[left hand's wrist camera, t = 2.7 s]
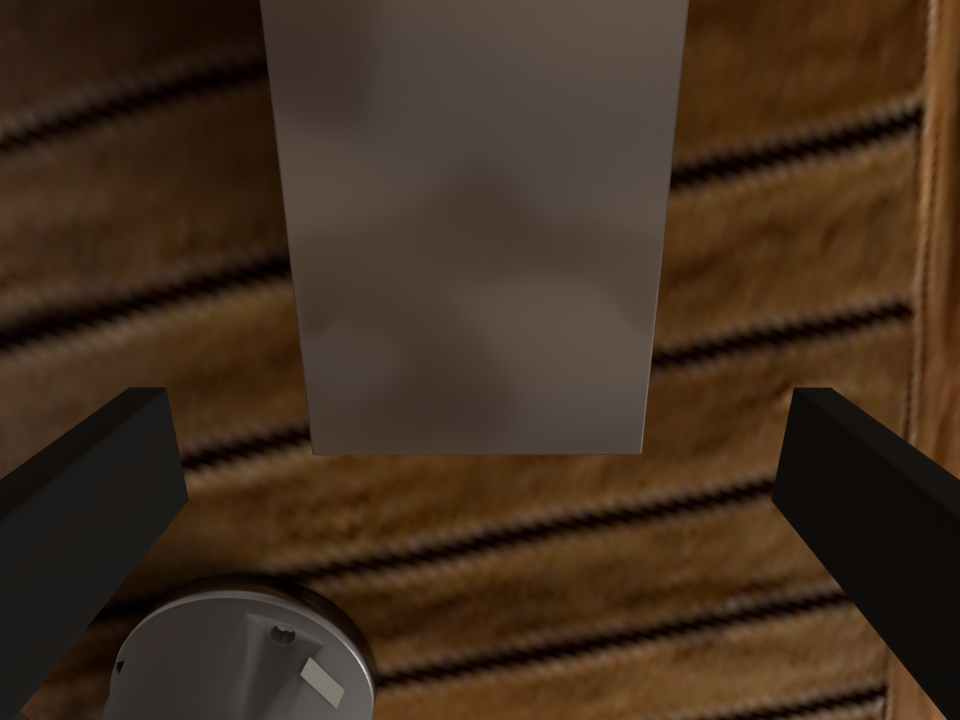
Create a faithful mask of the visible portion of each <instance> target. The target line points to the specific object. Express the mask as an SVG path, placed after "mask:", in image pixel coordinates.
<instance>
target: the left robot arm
mask: <svg viewBox="0 0 960 720" xmlns="http://www.w3.org/2000/svg"><path fill="white" fill-rule="evenodd" d="M188 500H189V499H188V494H187V489H186V484H185V479H184V475H183V470H182V465H181V460H180V455H179V450H178V445H177V440H176V435H175V430H174V425H173V420H172V415H171V410H170V405H169V400H168V395H167V390H166V388H128V389H127V390H125V391H124V392H122V393H121V394H120V395H118V396H117V397H115V398H114V399H113V400H111V401H110V402H108V403H107V404H106V405H104V406H103V407H101V408H100V409H99V410H97V411H96V412H94V413H93V414H92V415H90V416H89V417H87V418H86V419H85V420H83V421H82V422H81V423H79V424H78V425H76V426H75V427H74V428H72V429H71V430H69V431H68V432H67V433H65V434H64V435H62V436H61V437H60V438H58V439H57V440H55V441H54V442H53V443H51V444H50V445H48V446H47V447H46V448H44V449H43V450H41V451H40V452H39V453H37V454H36V455H34V456H33V457H32V458H30V459H29V460H27V461H26V462H25V463H23V464H22V465H20V466H19V467H18V468H16V469H15V470H13V471H12V472H11V473H9V474H8V475H7V476H5V477H4V478H2V479H1V480H0V720H30V719H29V718H27V717H26V716H25V715H24V714H22V713H21V712H20V710H21V709H22V708H23V706H24V705H25V704H26V703H27V701H28V700H29V699H30V698H31V696H32V695H33V694H34V693H35V691H36V690H37V689H38V688H39V686H40V685H41V684H42V683H43V681H44V680H45V679H46V678H47V676H48V675H49V674H50V673H51V671H52V670H53V669H54V668H55V666H56V665H57V664H58V663H59V661H60V660H61V659H62V658H63V656H64V655H65V654H66V653H67V651H68V650H69V649H70V648H71V646H72V645H73V644H74V643H75V641H76V640H77V639H78V638H79V636H80V635H81V634H82V633H83V631H84V630H85V629H86V628H87V626H88V625H89V624H90V623H91V621H92V620H93V619H94V618H95V616H96V615H97V614H98V613H99V611H100V610H101V609H102V608H103V606H104V605H105V604H106V603H107V602H108V600H109V599H110V598H111V597H112V595H113V594H114V593H115V592H116V590H117V589H118V588H119V587H120V585H121V584H122V583H123V582H124V580H125V579H126V578H127V577H128V575H129V574H130V573H131V572H132V570H133V569H134V568H135V567H136V565H137V564H138V563H139V562H140V560H141V559H142V558H143V557H144V555H145V554H146V553H147V552H148V550H149V549H150V548H151V547H152V545H153V544H154V543H155V542H156V540H157V539H158V538H159V537H160V535H161V534H162V533H163V532H164V530H165V529H166V528H167V527H168V525H169V524H170V523H171V522H172V520H173V519H174V518H175V517H176V515H177V514H178V513H179V512H180V510H181V509H182V508H183V507H184V505H185V504H186V503H187V502H188ZM771 500H772V502H773V503H774V504H775V505H776V507H777V508H778V509H779V510H780V512H781V513H782V514H783V515H784V517H785V518H786V519H787V520H788V522H789V523H790V524H791V525H792V527H793V528H794V529H795V530H796V532H797V533H798V534H799V535H800V537H801V538H802V539H803V540H804V542H805V543H806V544H807V545H808V547H809V548H810V549H811V550H812V552H813V553H814V554H815V555H816V557H817V558H818V559H819V560H820V562H821V563H822V564H823V565H824V567H825V568H826V569H827V570H828V572H829V573H830V574H831V575H832V577H833V578H834V579H835V580H836V582H837V583H838V584H839V585H840V587H841V588H842V589H843V590H844V592H845V593H846V594H847V595H848V597H849V598H850V599H851V600H852V602H853V603H854V604H855V605H856V606H857V608H858V609H859V610H860V611H861V613H862V614H863V615H864V616H865V618H866V619H867V620H868V621H869V623H870V624H871V625H872V626H873V628H874V629H875V630H876V631H877V633H878V634H879V635H880V636H881V638H882V639H883V640H884V641H885V643H886V644H887V645H888V646H889V648H890V649H891V650H892V651H893V653H894V654H895V655H896V656H897V658H898V659H899V660H900V661H901V663H902V664H903V665H904V666H905V668H906V669H907V670H908V671H909V673H910V674H911V675H912V676H913V678H914V679H915V680H916V681H917V683H918V684H919V685H920V686H921V688H922V689H923V690H924V691H925V693H926V694H927V695H928V696H929V698H930V699H931V700H932V701H933V703H934V704H935V705H936V706H937V708H938V709H939V710H940V711H941V713H942V714H943V715H944V716H945V718H946V719H947V720H960V480H959V479H958V478H956V477H955V476H953V475H952V474H951V473H949V472H948V471H947V470H945V469H944V468H942V467H941V466H940V465H938V464H937V463H935V462H934V461H933V460H931V459H930V458H928V457H927V456H926V455H924V454H923V453H921V452H920V451H919V450H917V449H916V448H914V447H913V446H912V445H910V444H909V443H907V442H906V441H905V440H903V439H902V438H900V437H899V436H898V435H896V434H895V433H893V432H892V431H891V430H889V429H888V428H886V427H885V426H884V425H882V424H881V423H879V422H878V421H877V420H875V419H874V418H872V417H871V416H870V415H868V414H867V413H866V412H864V411H863V410H861V409H860V408H859V407H857V406H856V405H854V404H853V403H852V402H850V401H849V400H847V399H846V398H845V397H843V396H842V395H840V394H839V393H838V392H836V391H835V390H833V389H832V388H794V390H793V395H792V400H791V405H790V410H789V415H788V420H787V425H786V430H785V435H784V440H783V445H782V450H781V455H780V460H779V465H778V470H777V475H776V479H775V484H774V489H773V494H772V499H771ZM377 688H378V674H377V667H376V663H375V659H374V656H373V654H372V651H371V649H370V647H369V645H368V643H367V641H366V640H365V638H364V637H363V635H362V634H361V632H360V631H359V630H358V629H357V627H356V626H355V625H354V624H353V623H352V622H351V621H350V620H349V619H348V618H347V617H346V616H345V615H344V614H343V613H341V612H340V611H339V610H338V609H337V608H335V607H334V606H332V605H331V604H329V603H328V602H326V601H325V600H323V599H321V598H320V597H318V596H316V595H314V594H312V593H310V592H308V591H306V590H304V589H301V588H298V587H296V586H293V585H290V584H287V583H283V582H280V581H276V580H271V579H266V578H259V577H250V576H224V577H215V578H209V579H204V580H200V581H196V582H193V583H189V584H187V585H184V586H182V587H179V588H177V589H175V590H173V591H171V592H170V593H168V594H166V595H165V596H163V597H162V598H160V599H159V600H158V601H157V602H155V603H154V604H153V605H152V606H151V607H150V608H149V609H148V610H147V611H146V612H145V614H144V615H143V616H142V618H141V619H140V621H139V622H138V623H137V625H136V626H135V628H134V629H133V630H132V632H131V633H130V635H129V636H128V638H127V639H126V640H125V642H124V643H123V645H122V647H121V649H120V651H119V654H118V656H117V659H116V662H115V666H114V669H113V672H112V676H111V681H110V695H109V697H108V699H107V701H106V704H105V706H104V709H103V711H102V714H101V717H100V720H372V716H373V711H374V706H375V700H376V695H377Z"/></svg>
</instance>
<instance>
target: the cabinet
mask: <svg viewBox="0 0 960 720" xmlns="http://www.w3.org/2000/svg"><path fill="white" fill-rule="evenodd" d="M260 8H261V16H262V25H263V34H264V42H265V51H266V59H267V68H268V77H269V85H270V94H271V102H272V111H273V119H274V128H275V137H276V145H277V154H278V162H279V171H280V179H281V188H282V197H283V205H284V214H285V222H286V231H287V240H288V248H289V257H290V265H291V274H292V282H293V291H294V300H295V308H296V317H297V325H298V334H299V342H300V351H301V360H302V368H303V377H304V385H305V394H306V403H307V411H308V420H309V428H310V437H311V445H312V453H313V455H640V454H641V453H642V447H643V437H644V428H645V418H646V409H647V399H648V390H649V380H650V371H651V361H652V351H653V342H654V332H655V323H656V313H657V304H658V294H659V285H660V275H661V266H662V256H663V246H664V237H665V227H666V218H667V208H668V199H669V189H670V180H671V170H672V160H673V151H674V141H675V132H676V122H677V113H678V103H679V94H680V84H681V74H682V65H683V55H684V46H685V36H686V27H687V17H688V8H689V0H260Z"/></svg>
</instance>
